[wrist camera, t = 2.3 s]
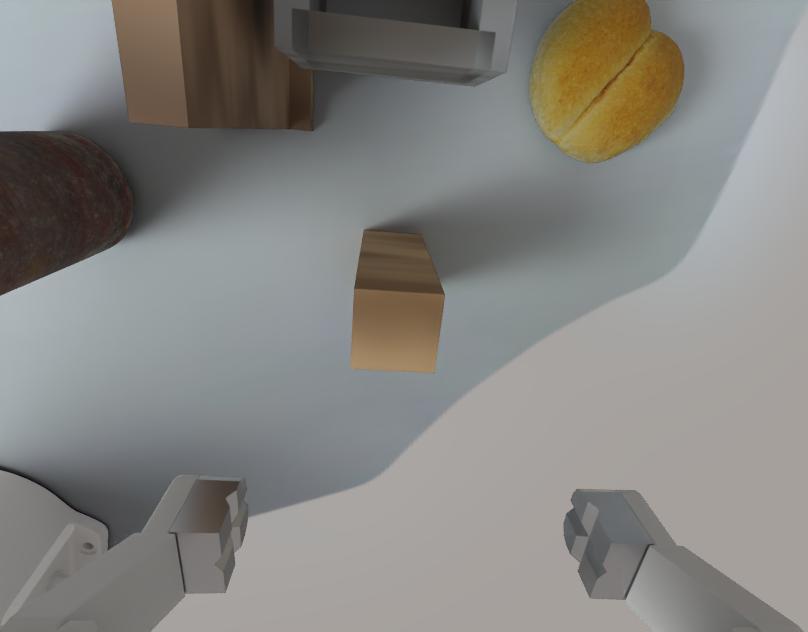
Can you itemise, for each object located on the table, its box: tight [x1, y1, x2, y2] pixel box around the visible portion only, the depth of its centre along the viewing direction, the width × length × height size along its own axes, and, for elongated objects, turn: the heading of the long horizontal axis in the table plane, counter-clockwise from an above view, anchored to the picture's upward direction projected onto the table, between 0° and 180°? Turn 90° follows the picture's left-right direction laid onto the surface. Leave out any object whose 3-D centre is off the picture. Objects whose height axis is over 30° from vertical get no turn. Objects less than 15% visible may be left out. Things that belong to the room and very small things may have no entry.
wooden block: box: [350, 230, 445, 373], centre depth 25 cm, size 4×4×12 cm
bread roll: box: [529, 0, 684, 163], centre depth 25 cm, size 8×9×4 cm
